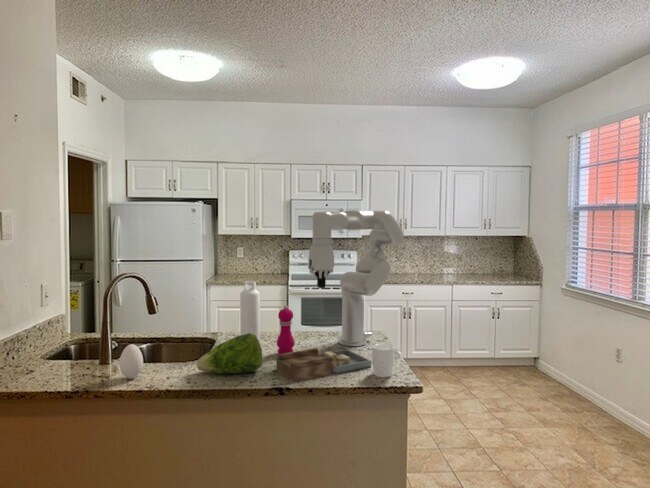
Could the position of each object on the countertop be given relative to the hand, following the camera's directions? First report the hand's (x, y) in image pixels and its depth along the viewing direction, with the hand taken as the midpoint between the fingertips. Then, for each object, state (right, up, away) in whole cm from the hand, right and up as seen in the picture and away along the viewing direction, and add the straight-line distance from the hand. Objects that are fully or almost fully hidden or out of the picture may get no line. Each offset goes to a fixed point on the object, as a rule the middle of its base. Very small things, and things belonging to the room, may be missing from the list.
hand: (321, 287), depth 184 cm
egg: (-65, -29, -29) cm, 76 cm away
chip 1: (+2, -25, -16) cm, 30 cm away
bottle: (-31, -26, +9) cm, 41 cm away
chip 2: (+8, -25, -12) cm, 29 cm away
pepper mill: (-15, -27, 0) cm, 31 cm away
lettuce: (-33, -29, -22) cm, 48 cm away
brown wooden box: (-6, -28, -20) cm, 35 cm away
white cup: (+22, -29, -22) cm, 43 cm away
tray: (+8, -28, -12) cm, 31 cm away
